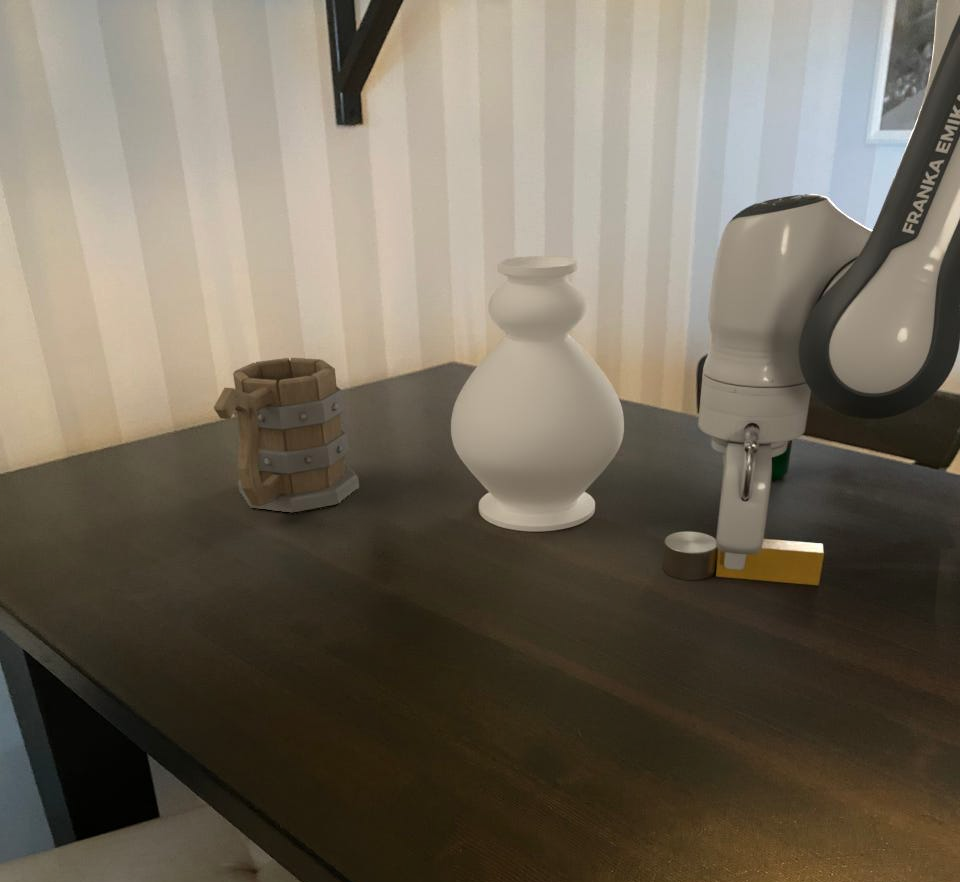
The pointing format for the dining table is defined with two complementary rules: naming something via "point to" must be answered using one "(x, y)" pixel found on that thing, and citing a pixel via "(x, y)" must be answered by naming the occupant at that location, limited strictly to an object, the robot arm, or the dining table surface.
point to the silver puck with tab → (773, 563)
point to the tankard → (289, 434)
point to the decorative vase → (537, 405)
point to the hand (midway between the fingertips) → (734, 557)
